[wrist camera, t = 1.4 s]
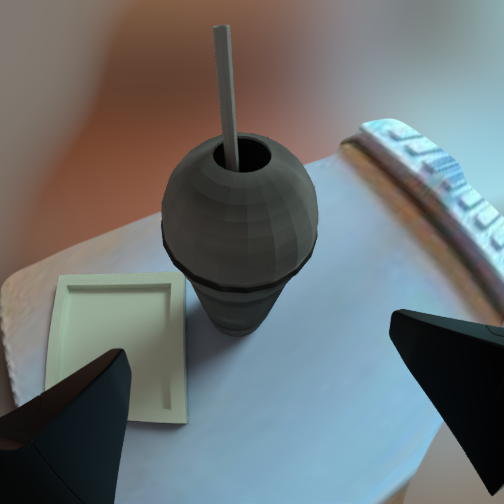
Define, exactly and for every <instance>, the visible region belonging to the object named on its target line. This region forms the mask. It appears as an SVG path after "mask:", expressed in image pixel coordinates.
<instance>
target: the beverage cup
mask: <svg viewBox="0 0 504 504" xmlns="http://www.w3.org/2000/svg"><path fill="white" fill-rule="evenodd" d="M213 34H214V46H215V57H216V70H217V81H218V92H219V102H220V114H221V123H222V135H220V136H217V137H214V138H211V139H208V140H206V141H205V142H203V143H201V144H200V145H199V146H197V147H195V148H194V149H192V150H191V151H190V152H189V153H188V154H187V155H186V156H185V157H184V158H183V159H182V160H181V162H180V163H179V164H178V165H177V166H176V168H175V169H174V171H173V172H172V174H171V176H170V178H169V181H168V184H167V187H166V190H165V193H164V197H163V201H162V210H161V213H162V221H161V229H162V238H163V246H164V248H165V250H166V252H167V253H168V255H169V257H170V259H171V261H172V262H173V264H174V266H176V267H177V268H178V269H179V270H180V271H181V272H182V273H183V274H184V276H185V277H186V278H187V279H188V280H189V281H190V282H191V284H192V286H193V288H194V290H195V292H196V294H197V296H198V298H199V300H200V302H201V304H202V306H203V308H204V309H205V311H206V313H207V315H208V317H209V318H210V320H211V321H212V322H213V324H214V325H215V327H216V328H218V329H219V330H220V331H221V332H223V333H225V334H228V335H231V336H243V335H247V334H250V333H251V332H253V331H255V330H256V329H257V328H258V327H259V326H260V324H261V323H262V322H263V321H264V320H265V318H266V317H267V315H268V314H269V312H270V310H271V309H272V307H273V305H274V304H275V302H276V300H277V298H278V297H279V295H280V293H281V292H282V290H283V288H284V287H285V285H286V284H287V282H288V281H289V280H290V279H291V278H292V277H293V276H295V275H296V274H297V273H298V272H299V271H300V270H301V269H302V267H303V266H304V265H305V264H306V262H307V261H308V260H309V259H310V257H311V256H312V253H313V250H314V246H315V243H316V240H317V225H318V206H317V197H316V192H315V187H314V185H313V183H312V181H311V178H310V177H309V175H308V173H307V171H306V169H305V168H304V166H303V164H302V163H301V162H300V161H299V159H298V158H297V157H296V156H295V155H293V154H292V153H291V152H290V151H289V150H288V149H287V148H286V147H284V146H283V145H281V144H279V143H277V142H276V141H273V140H272V139H270V138H268V137H264V136H261V135H257V134H253V133H237V131H236V130H237V129H236V115H235V100H234V84H233V69H232V53H231V40H230V39H231V38H230V26H229V25H218V26H214V27H213Z"/></svg>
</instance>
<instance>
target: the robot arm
mask: <svg viewBox="0 0 504 504" xmlns="http://www.w3.org/2000/svg"><path fill="white" fill-rule="evenodd" d="M389 336H390V339H391V340H392V342H393V344H394V346H395V347H396V349H397V351H398V352H399V354H400V356H401V358H402V359H403V361H404V363H405V365H406V366H407V368H408V369H409V371H410V372H411V374H412V375H413V376H414V378H415V379H416V381H417V382H418V383H419V385H420V386H421V388H422V389H423V391H424V392H425V393H426V395H427V396H428V398H429V399H430V401H431V402H432V403H433V405H434V406H435V408H436V409H437V411H438V412H439V414H440V415H441V417H442V418H443V420H444V421H445V423H446V424H447V426H448V427H449V429H450V430H451V432H452V433H453V435H454V436H455V438H456V439H457V441H458V442H459V444H460V445H461V447H462V449H463V450H464V452H466V455H467V457H468V458H469V460H470V462H471V463H472V465H473V466H474V468H475V470H476V471H477V473H478V474H479V476H480V478H481V480H482V481H483V483H484V485H485V486H486V488H487V490H488V492H489V493H490V494H491V496H494V495H495V494H496V493H497V492H498V491H499V490H500V489H502V488H503V487H504V328H502V327H496V326H490V325H484V324H479V323H473V322H468V321H463V320H457V319H452V318H447V317H441V316H436V315H431V314H426V313H421V312H416V311H411V310H406V309H400V310H396V311H394V312H393V313H392V315H391V322H390V329H389ZM131 380H132V372H131V368H130V365H129V362H128V358H127V355H126V352H125V350H124V349H122V348H113V349H110V350H109V351H107V352H106V353H104V354H102V355H101V356H99V357H98V358H96V359H95V360H93V361H91V362H90V363H88V364H87V365H85V366H84V367H82V368H81V369H79V370H77V371H76V372H74V373H73V374H71V375H70V376H68V377H66V378H65V379H63V380H62V381H60V382H59V383H57V384H56V385H54V386H52V387H51V388H49V389H48V390H46V391H45V392H43V393H41V394H40V395H38V396H37V397H35V398H33V399H32V400H30V401H29V402H27V403H25V404H24V405H22V406H20V407H19V408H17V409H15V410H13V411H11V412H10V413H8V414H6V415H4V416H2V417H0V504H114V500H115V492H116V485H117V478H118V471H119V464H120V458H121V452H122V446H123V441H124V435H125V430H126V425H127V420H128V414H129V402H130V390H131Z"/></svg>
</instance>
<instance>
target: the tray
mask: <svg viewBox="0 0 504 504" xmlns="http://www.w3.org/2000/svg"><path fill="white" fill-rule="evenodd" d="M113 348H122V349H124V350H125V352H126V355H127V358H128V362H129V365H130V368H131V372H132V380H131V390H130V402H129V414H128V420H131V421H143V422H159V423H189V415H188V396H187V369H186V277H185V276H184V274H183V273H182V272H155V273H123V274H85V275H60V276H59V281H58V286H57V291H56V296H55V302H54V307H53V313H52V320H51V327H50V335H49V343H48V353H47V364H46V380H45V391H46V390H48V389H49V388H51V387H52V386H54V385H56V384H57V383H59V382H60V381H62V380H63V379H65V378H66V377H68V376H70V375H71V374H73V373H74V372H76V371H77V370H79V369H81V368H82V367H84V366H85V365H87V364H88V363H90V362H91V361H93V360H95V359H96V358H98V357H99V356H101V355H102V354H104V353H106V352H107V351H109V350H110V349H113Z"/></svg>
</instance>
